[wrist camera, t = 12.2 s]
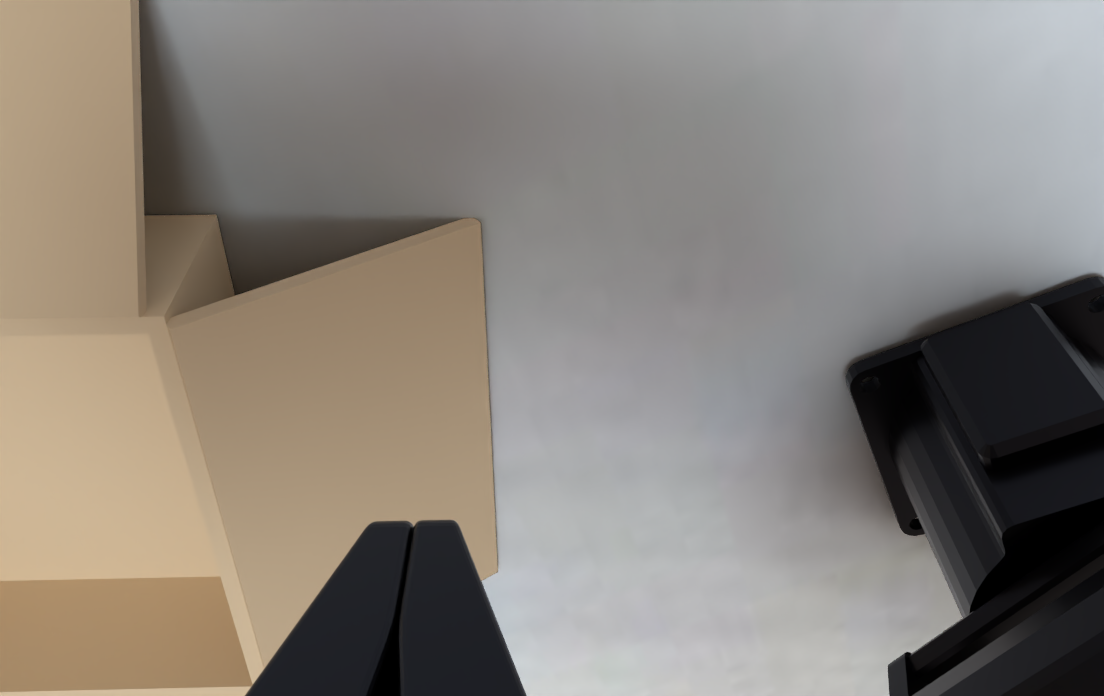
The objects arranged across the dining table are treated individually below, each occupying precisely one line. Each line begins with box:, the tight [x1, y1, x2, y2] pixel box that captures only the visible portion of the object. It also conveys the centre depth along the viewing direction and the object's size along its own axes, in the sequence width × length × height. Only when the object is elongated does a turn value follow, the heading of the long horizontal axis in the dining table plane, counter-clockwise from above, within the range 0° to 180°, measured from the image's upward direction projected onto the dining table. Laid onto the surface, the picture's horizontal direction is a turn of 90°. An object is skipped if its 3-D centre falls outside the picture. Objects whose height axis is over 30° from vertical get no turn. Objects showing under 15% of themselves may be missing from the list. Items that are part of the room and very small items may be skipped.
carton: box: [0, 0, 498, 696], centre depth 24 cm, size 16×24×4 cm
